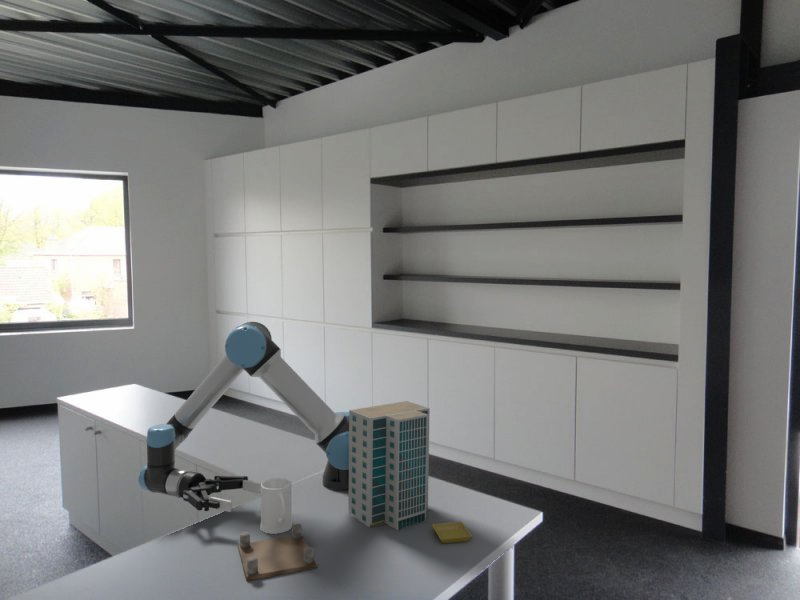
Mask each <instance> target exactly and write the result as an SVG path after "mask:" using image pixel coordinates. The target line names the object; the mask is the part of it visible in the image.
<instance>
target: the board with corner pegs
mask: <svg viewBox="0 0 800 600" xmlns="http://www.w3.org/2000/svg"><path fill="white" fill-rule="evenodd" d="M291 531H292V532H291V533H292V535H287V536H281V537H276V538H268V539H264V540H257V541H252V542H251V533H250V532H247V531H244V532H241V533H240V534H239V544H237V549H238V553H239V558H240V561H241V562H240V563H241V565H242V569H243V573H244V576H245V581H246V582H249V581H255V580H260V579H263V578H270V577H274V576H275V577H276V576H280V575H287V574H291V573H296V572H300V571H306V570H307V571H308V570H311V569H312V570H313V569H317V567H318V566H317V565H318V564H317V561H316V559H315V548H314V547H313V546H308V544H307V541H306V540H305V538H304V535H303V524H301V523H296V524H292V528H291Z"/></svg>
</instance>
